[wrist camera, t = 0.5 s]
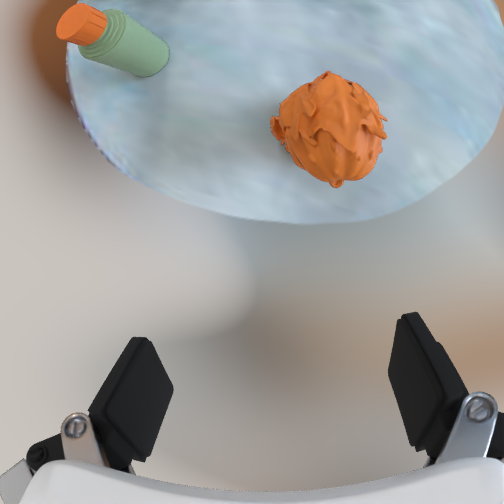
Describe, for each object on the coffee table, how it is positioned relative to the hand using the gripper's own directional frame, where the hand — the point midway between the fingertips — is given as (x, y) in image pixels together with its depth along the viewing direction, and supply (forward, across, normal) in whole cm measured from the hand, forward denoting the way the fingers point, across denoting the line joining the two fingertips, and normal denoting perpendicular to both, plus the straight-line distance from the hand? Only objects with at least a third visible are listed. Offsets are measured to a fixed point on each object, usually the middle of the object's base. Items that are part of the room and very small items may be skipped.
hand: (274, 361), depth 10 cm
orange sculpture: (+31, -6, -8) cm, 32 cm away
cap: (+16, +14, -24) cm, 32 cm away
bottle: (+31, +14, -24) cm, 41 cm away
